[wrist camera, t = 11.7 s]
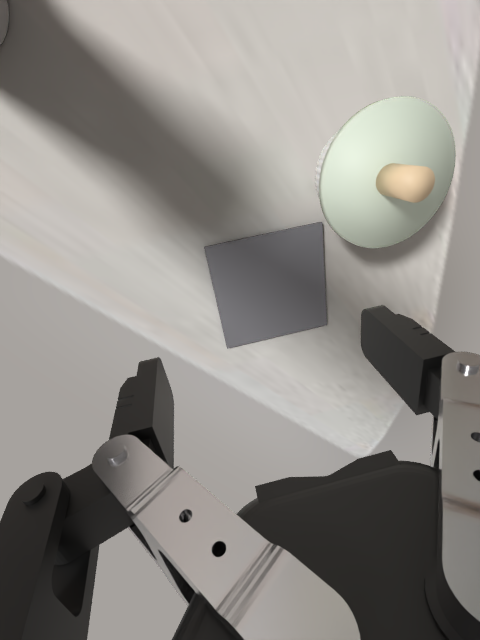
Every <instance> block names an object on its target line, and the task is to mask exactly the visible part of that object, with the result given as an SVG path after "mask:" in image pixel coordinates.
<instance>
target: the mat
mask: <svg viewBox="0 0 480 640" xmlns="http://www.w3.org/2000/svg"><path fill="white" fill-rule="evenodd" d="M204 248H205V252H206V257H207V261H208V266H209V270H210V275H211V279H212V283H213V288H214V292H215V297H216V301H217V306H218V310H219V314H220V319H221V323H222V328H223V332H224V337H225V341H226V345H227V348H232V347H236V346H240V345H244V344H249V343H253V342H257V341H261V340H265V339H270V338H274V337H278V336H282V335H287V334H291V333H295V332H299V331H303V330H308V329H312V328H316V327H320V326H324V325H327V315H326V293H325V271H324V250H323V228H322V222H318V223H313V224H308V225H304V226H299V227H295V228H290V229H285V230H281V231H276V232H271V233H267V234H262V235H257V236H253V237H248V238H243V239H239V240H234V241H230V242H225V243H220V244H216V245H211V246H206V247H204Z"/></svg>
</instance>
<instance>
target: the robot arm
mask: <svg viewBox="0 0 480 640" xmlns="http://www.w3.org/2000/svg"><path fill="white" fill-rule="evenodd" d="M8 23H9V8H8V3H7V0H0V45H1V44H2V42H3V40H4V38H5V36H6V33H7V29H8ZM361 347H362V350H363V353H364V355H365V357H366V358H367V359H368V360H369V362H370V363H371V364H372V365H373V366H374V367H375V368H376V369H377V371H378V372H379V373H380V374H381V375H382V376H383V377H384V379H385V380H386V381H387V382H388V383H389V384H390V385H391V387H392V388H393V389H394V390H395V391H396V392H397V393H398V395H399V396H400V397H401V398H402V399H403V400H404V401H405V403H406V404H407V405H408V406H409V407H410V408H411V409H412V410H413V412H415V414H416V415H419V414H423V413H426V412H431V413H432V415H433V420H432V435H431V454H430V466H428V465H424V464H421V463H416V462H410V461H398V460H397V458H396V457H395V455H394V454H393V452H392V451H391V450H390V451H386V452H382V453H379V454H375V455H371V456H367V457H363V458H360V459H357V460H356V461H354V462H352V463H350V464H348V465H347V466H345V467H343V468H341V469H340V470H338V471H336V472H335V473H333V474H331V475H329V476H324V477H289V478H285V479H281V480H277V481H274V482H269V483H266V484H262V485H258V486H255V488H256V492H257V497H258V498H256V499H254V500H253V501H251V502H250V503H248V504H247V505H246V506H244V507H243V508H242V509H241V510H240V511H239V512H238V513H237V514H235V513H234V512H233V511H232V510H231V509H229V508H228V507H227V506H226V505H225V504H224V503H223V502H221V501H220V500H219V499H218V498H217V497H215V496H214V495H213V494H212V493H211V492H210V491H208V490H207V489H206V488H205V487H204V486H203V485H201V484H200V483H199V482H198V481H197V480H195V479H194V478H193V477H192V476H191V475H190V474H189V473H187V472H186V471H185V470H184V469H182V468H181V467H176V468H174V466H173V465H174V400H173V394H172V390H171V387H170V384H169V381H168V378H167V376H166V373H165V370H164V367H163V364H162V361H161V359H160V358H159V357H158V358H154V359H150V360H145V361H141V362H139V365H138V372H137V376H135V377H130V378H128V379H127V380H126V381H125V383H124V384H123V385H122V387H121V388H120V392H119V397H118V401H117V406H116V410H115V415H114V420H113V424H112V428H111V433H110V437H109V440H108V441H107V442H105V443H104V444H103V445H102V446H101V447H100V448H99V449H98V450H97V452H96V453H95V455H94V457H93V460H92V464H90V465H89V466H87V467H86V468H84V469H82V470H80V471H78V472H76V473H74V474H72V475H70V476H68V477H66V478H64V479H62V478H61V476H60V475H59V474H58V473H55V472H45V473H41V474H38V475H36V476H34V477H32V478H31V479H29V480H28V481H26V482H25V483H23V484H22V485H21V486H20V487H19V488H18V489H17V490H16V491H15V492H14V494H13V495H12V497H11V498H10V500H9V502H8V504H7V506H6V509H5V511H4V514H3V516H2V519H1V521H0V640H87V634H88V627H89V619H90V612H91V604H92V596H93V589H94V582H95V574H96V566H97V559H98V551H99V544H101V543H103V542H104V541H106V540H108V539H109V538H111V537H113V536H114V535H116V534H117V533H119V532H121V531H122V530H124V529H126V528H129V530H130V531H131V532H132V533H133V534H134V536H135V537H136V538H137V540H138V541H139V542H140V543H141V545H142V546H143V547H144V548H145V550H146V551H147V552H148V553H149V555H150V556H151V557H152V558H153V560H154V561H155V562H156V564H157V565H158V566H159V567H160V569H161V570H162V571H163V573H164V574H165V576H166V577H167V579H168V580H169V582H170V583H171V585H172V586H173V587H174V589H175V590H176V592H177V593H178V594H179V595H180V597H181V598H182V599H183V601H184V602H185V603H186V604H187V606H188V608H187V610H186V612H185V614H184V616H183V618H182V620H181V622H180V624H179V626H178V628H177V630H176V633H175V635H174V637H173V639H172V640H480V355H478V354H474V353H470V352H455V351H454V350H452V349H451V348H450V347H448V346H447V345H446V344H444V343H443V342H442V341H440V340H439V339H438V338H436V337H435V336H434V335H433V334H430V333H429V331H427V330H426V329H425V328H422V327H421V325H419V324H418V323H417V322H415V321H414V320H413V319H411V318H408V317H405V316H403V315H400V314H397V315H395V314H394V313H393V312H392V311H390V310H389V309H388V308H387V307H385V306H383V305H381V306H377V307H372V308H368V309H364V310H363V311H362V314H361Z"/></svg>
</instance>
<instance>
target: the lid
mask: <svg viewBox="0 0 480 640" xmlns="http://www.w3.org/2000/svg"><path fill="white" fill-rule="evenodd" d="M455 156H456V154H455V142H454V137H453V134H452V131H451V128H450V126H449V124H448V122H447V120H446V118H445V117H444V116H443V114H442V113H441V112H440V111H439V110H438V109H437V108H436V107H435V106H433V105H432V104H430V103H429V102H427V101H425V100H422V99H420V98H415V97H406V96H401V97H393V98H388V99H384V100H381V101H377V102H375V103H373V104H370V105H368V106H366V107H365V108H363V109H362V110H360V111H358V112H357V113H356V114H355V115H354V116H352V117H351V118H350V119H349V120H348V121H347V122H346V123H345V124H344V125H343V126H342V128H341V129H340V130H339V132H338V133H337V134H336V136H335V137H334V139H333V141H332V142H331V144H330V146H329V148H328V150H327V152H326V155H325V158H324V160H323V163H322V167H321V172H320V179H319V198H320V204H321V208H322V211H323V214H324V216H325V218H326V220H327V222H328V224H329V225H330V226H331V228H332V229H333V230H334V231H335V232H336V233H337V234H338V235H339V236H340V237H342V238H344V239H345V240H347V241H348V242H350V243H352V244H355V245H357V246H361V247H364V248H383V247H388V246H391V245H395V244H397V243H399V242H402V241H404V240H406V239H407V238H409V237H411V236H412V235H413V234H415V233H416V232H418V231H419V230H420V229H421V228H422V227H423V226H424V225H425V224H426V223H427V222H428V221H429V220H430V219H431V218H432V217H433V215H434V214H435V213H436V211H437V210H438V208H439V207H440V205H441V204H442V202H443V200H444V198H445V196H446V194H447V192H448V189H449V187H450V184H451V181H452V177H453V173H454V167H455Z"/></svg>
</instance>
